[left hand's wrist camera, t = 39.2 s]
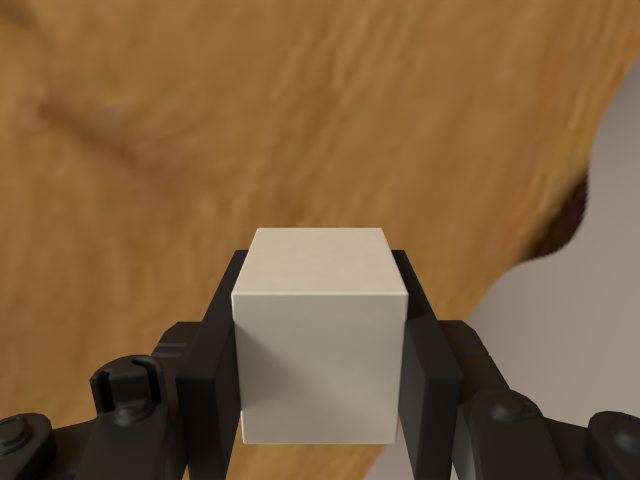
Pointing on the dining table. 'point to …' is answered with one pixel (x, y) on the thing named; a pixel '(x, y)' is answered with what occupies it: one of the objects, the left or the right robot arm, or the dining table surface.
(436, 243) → the dining table surface
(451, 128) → the dining table surface
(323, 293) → the block
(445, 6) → the dining table surface
